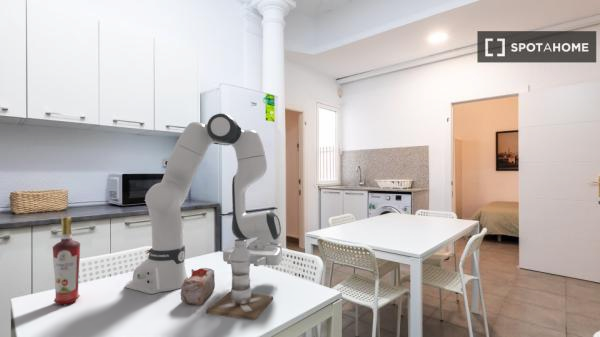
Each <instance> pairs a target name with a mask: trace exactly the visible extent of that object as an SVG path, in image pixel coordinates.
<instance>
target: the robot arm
mask: <svg viewBox="0 0 600 337" xmlns="http://www.w3.org/2000/svg"><path fill="white" fill-rule="evenodd" d="M212 144H213V145H214V144H215V145H221V146H232V148H233V150H234V151H235V156H236V159H237V168H236V169H237V170H236V173H235V175H233V177H232V183H231V184H232V185H231V196H232V197H231V198H232V201H231V202H232V222H231V233H232V234H233V235H234V237H235V238H237V239H246V241H247V240H250V239H255V240H253V241H251V242H250V243H249V244H247V246H246V248H247V249H248V251H249V252H250V255H251V261H250V265H251V264H252V265H253V267H260V266H263V265H264V266H272V267H273V266H279V265H280V264H281V263H282V261H283V260H282V259H283V248H282V246H283V242H284V241H283V237H282V236H281V232H282V231H281V230H282V227H281V223H280V219H279V217H278V215H277V214H276V213H274V212H273V211H272V210H263V211H258V212H251V213H247V212H246V192H247V189H248V188H249V187H251V186H252V185H253V184H255V183H256V182H257V181H259V180H260V179H262V178H263V177H264V175H265V174H266V171H267V170H268V169H267V168H268V163H267V158H266V152H265V148H264V145H263V142H262V139H261V136H260V134H259V133H258V132H257V131H256V130H254V129H253V130H252V129H242V127H241V126H240V125H239V124H238V122H237V121H236V120H235V119H234V117H232V116H230V115H228V114H226V113H217V114H214V115H212V116H211V117H210V118H209V120H208V121H207V124H204V123H202V122H198V121H191V122H190V123H188V124H187V125H186V127H185V128H184V130H183V131H182V133H181V134H180V136H179V138H178V139H177V141H176V143H175V146H174V147H173V149H172V152H171V154H169V155H170V156H169V158H168V159H167V162H166V167H165V170H164V174H163V177H162V179H161V181H160V182H157V183H155V184H153V185H152V186H151V187H150V188H149V189H148V190H147V192H146V194H145V197H144V200H145V204H146V206H147V209H148V215H149V219H150V225H151V248H150V249H148V250H146V252H145V254H147V255H148V256H147V258H146V259H145V260H144V261H142V262H141V263H140V264H139V265H138V266H136V267H135V269H134V270H133V272H132V279H131V280H129V281H128V282H126V284H125V285H124V287H125V288H127V289H131V290H133V291H137V292H141V293H145V294H149V295H150V294H152V295H154V294H158V293H161V292H168V291H169V292H170V291H174V290H177V289H181V287H182V284H183V282H184V280H185V279H186V278H187V277H188V275H187V270H186V264H185V263H186V262H185V257H186V247H185V245H184V241H185V240H184V238H185V235H184V234H185V232H184V231H185V229H184V228H185V227H184V223H183V218H182V212H181V206H182V205H183V204H184V203H185V200H186V199H187V196H188V194H189V192H190V190H191V187H192V184H193V182H194V179H195V176H196V174H197V171H198V170H199V168H200V165H201V163H202V161H203V159H204V156H205V155H206V153H207V151H208V149H209V147H210V146H211V145H212ZM234 249H235V246H233V247H229V248H226V249H225V250H223V252H222V260H223V262H224V263H225V262H226V265H231V262H230V255H231V253H232V251H233V250H234ZM186 280H187V279H186Z"/></svg>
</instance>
